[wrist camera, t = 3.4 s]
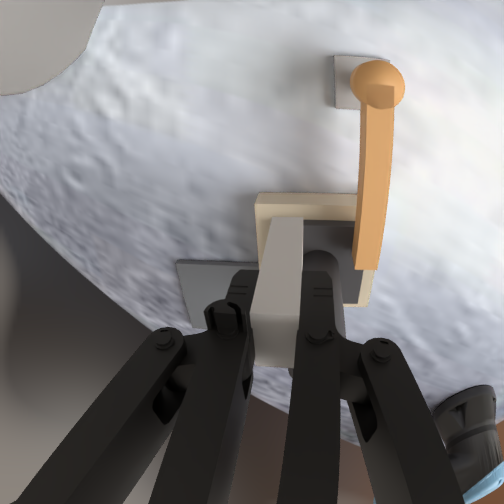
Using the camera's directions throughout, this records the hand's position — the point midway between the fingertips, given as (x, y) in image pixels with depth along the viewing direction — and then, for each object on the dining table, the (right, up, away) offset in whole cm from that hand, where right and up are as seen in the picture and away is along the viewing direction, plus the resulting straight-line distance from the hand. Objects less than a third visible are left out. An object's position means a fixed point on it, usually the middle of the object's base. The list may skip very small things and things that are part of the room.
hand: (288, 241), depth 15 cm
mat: (-5, -6, +23) cm, 25 cm away
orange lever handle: (+8, +6, +7) cm, 12 cm away
